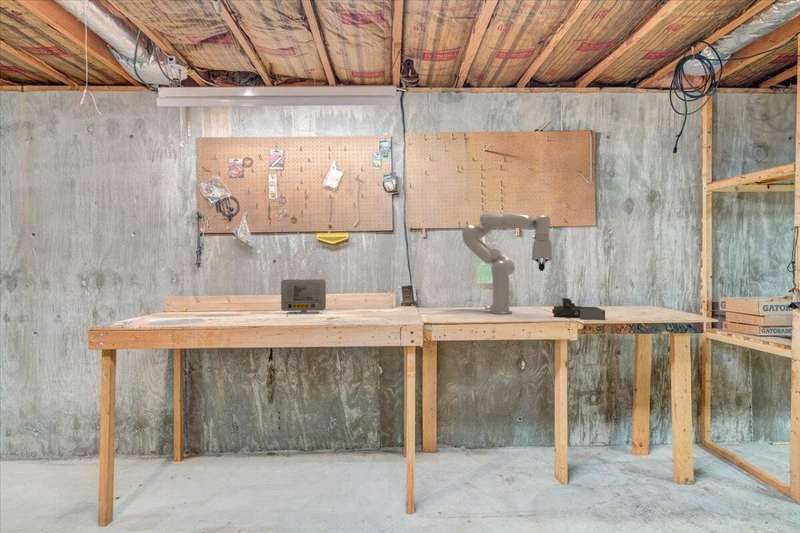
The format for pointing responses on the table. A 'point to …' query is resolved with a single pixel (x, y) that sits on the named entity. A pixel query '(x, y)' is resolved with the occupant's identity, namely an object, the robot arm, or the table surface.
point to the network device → (303, 296)
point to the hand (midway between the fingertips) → (541, 270)
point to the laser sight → (569, 309)
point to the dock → (593, 314)
